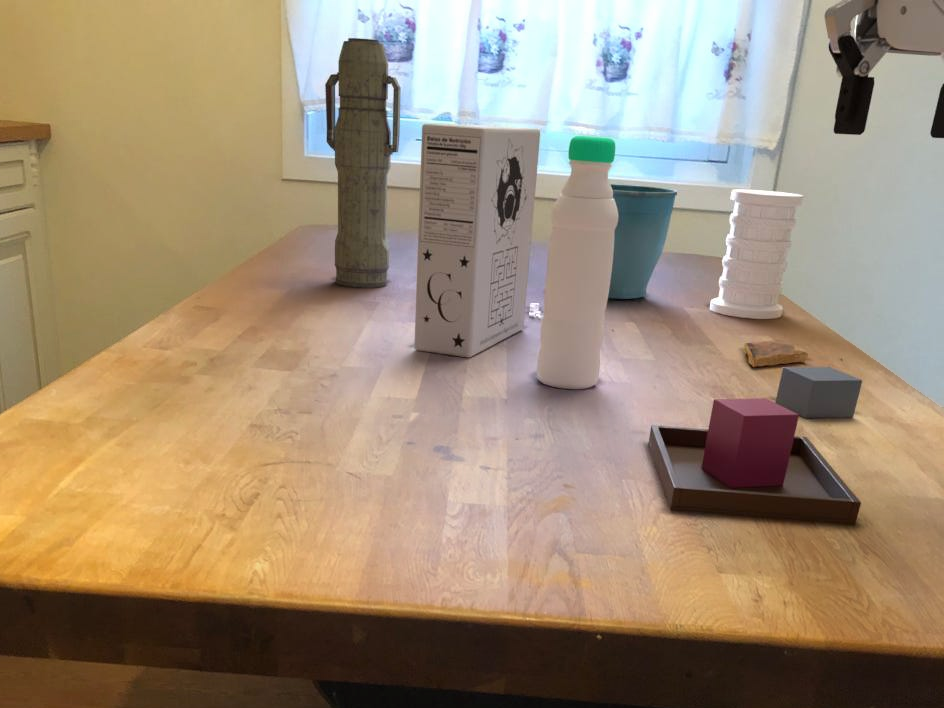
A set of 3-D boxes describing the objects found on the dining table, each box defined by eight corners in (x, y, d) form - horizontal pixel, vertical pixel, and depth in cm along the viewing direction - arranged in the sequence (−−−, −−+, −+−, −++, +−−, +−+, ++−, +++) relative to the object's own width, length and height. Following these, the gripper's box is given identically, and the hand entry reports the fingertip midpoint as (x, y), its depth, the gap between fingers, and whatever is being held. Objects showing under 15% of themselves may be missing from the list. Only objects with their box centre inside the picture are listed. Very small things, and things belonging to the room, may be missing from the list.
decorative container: (789, 321, 157) (814, 198, 148) (716, 316, 157) (738, 193, 148) (771, 308, 167) (794, 192, 159) (703, 303, 167) (723, 187, 159)
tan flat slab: (751, 369, 124) (753, 354, 123) (707, 356, 129) (710, 342, 129) (808, 363, 129) (811, 349, 128) (765, 350, 135) (767, 337, 134)
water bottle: (587, 394, 108) (618, 139, 96) (527, 384, 110) (549, 134, 98) (604, 381, 114) (635, 139, 102) (547, 372, 116) (570, 134, 104)
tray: (801, 461, 91) (806, 436, 90) (854, 530, 76) (861, 502, 75) (647, 449, 91) (651, 424, 90) (669, 515, 76) (674, 487, 75)
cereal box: (473, 322, 140) (486, 125, 128) (524, 329, 138) (541, 129, 126) (413, 350, 122) (420, 123, 110) (470, 358, 120) (484, 128, 108)
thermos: (334, 276, 169) (332, 39, 153) (401, 282, 168) (407, 43, 151) (319, 284, 162) (316, 35, 145) (389, 290, 160) (395, 39, 144)
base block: (821, 402, 111) (829, 366, 109) (853, 417, 106) (862, 380, 104) (774, 403, 109) (782, 366, 107) (805, 418, 104) (814, 380, 102)
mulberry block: (751, 466, 86) (766, 398, 83) (783, 485, 82) (799, 414, 79) (700, 468, 84) (713, 398, 82) (730, 488, 80) (744, 415, 77)
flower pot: (542, 295, 165) (553, 184, 157) (573, 282, 180) (584, 180, 172) (648, 308, 159) (664, 194, 151) (671, 294, 174) (687, 189, 166)
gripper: (891, -147, 67) (836, 134, 75) (1086, -120, 72) (1015, 141, 80) (824, -126, 73) (781, 131, 82) (1008, -103, 78) (950, 138, 86)
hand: (897, 136), depth 81 cm, fingers open, 9 cm apart
